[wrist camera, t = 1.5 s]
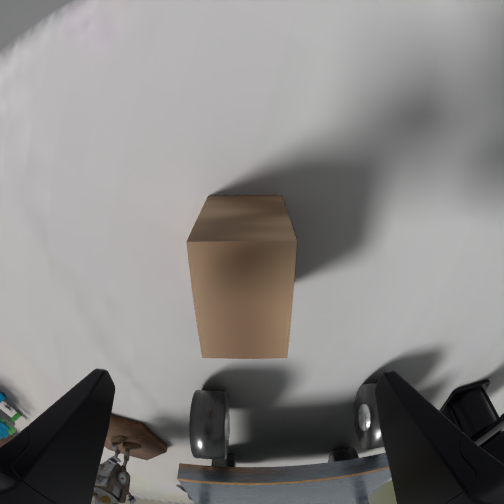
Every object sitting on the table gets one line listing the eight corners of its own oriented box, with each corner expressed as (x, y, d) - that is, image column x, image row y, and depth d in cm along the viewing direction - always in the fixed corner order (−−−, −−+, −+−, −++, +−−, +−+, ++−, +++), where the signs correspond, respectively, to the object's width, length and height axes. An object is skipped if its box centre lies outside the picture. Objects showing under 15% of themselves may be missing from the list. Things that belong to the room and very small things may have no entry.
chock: (281, 195, 16) (296, 241, 11) (278, 288, 19) (287, 357, 14) (208, 195, 16) (186, 241, 11) (214, 288, 19) (202, 357, 14)
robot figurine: (179, 455, 31) (168, 537, 20) (123, 453, 32) (105, 524, 21) (129, 409, 26) (101, 509, 15) (71, 409, 27) (40, 489, 16)
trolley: (408, 364, 23) (456, 481, 12) (356, 457, 31) (370, 533, 20) (174, 374, 23) (145, 512, 12) (204, 464, 31) (196, 545, 20)
